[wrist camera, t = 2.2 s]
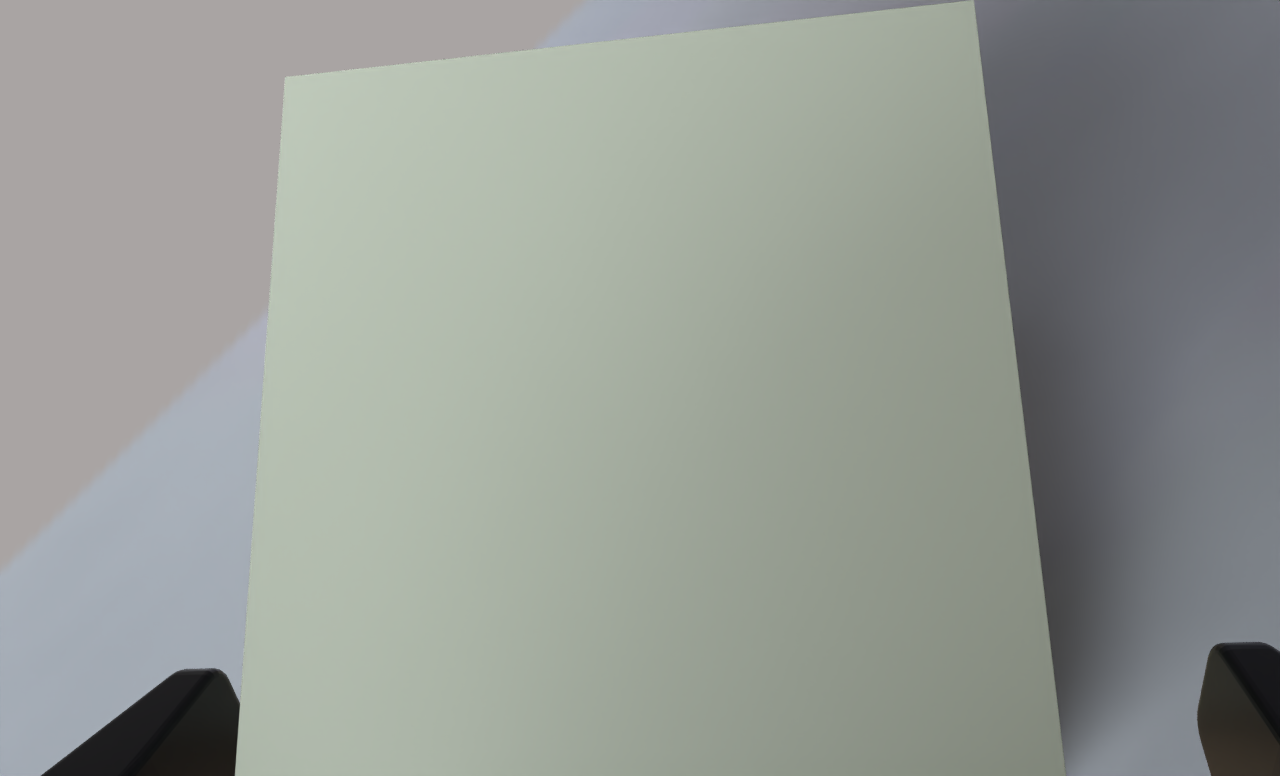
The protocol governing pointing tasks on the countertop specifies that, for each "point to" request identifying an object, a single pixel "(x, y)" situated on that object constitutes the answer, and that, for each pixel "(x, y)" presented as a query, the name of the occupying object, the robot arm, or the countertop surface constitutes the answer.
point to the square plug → (647, 418)
